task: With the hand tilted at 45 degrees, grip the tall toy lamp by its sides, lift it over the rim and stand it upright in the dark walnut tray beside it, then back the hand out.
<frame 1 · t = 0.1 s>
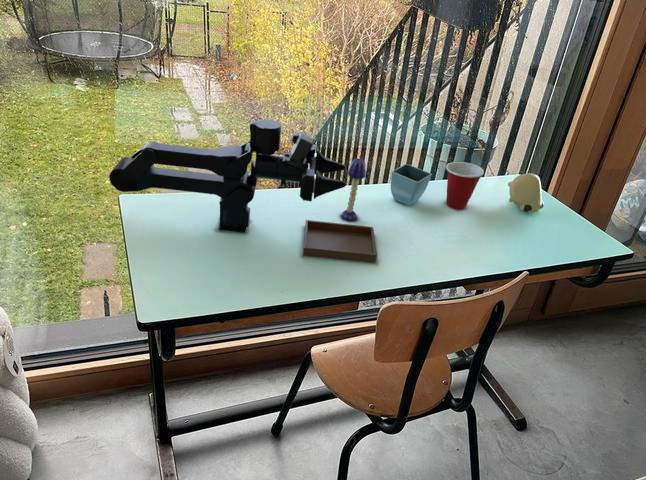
hand: (345, 175, 133), 17 cm above the table, tool horizontal, fingers open, 9 cm apart
tray: (339, 244, 139), on the table
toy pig: (521, 207, 173), on the table
plastic cup: (454, 205, 167), on the table
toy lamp: (349, 218, 151), on the table
flower pot: (405, 201, 165), on the table
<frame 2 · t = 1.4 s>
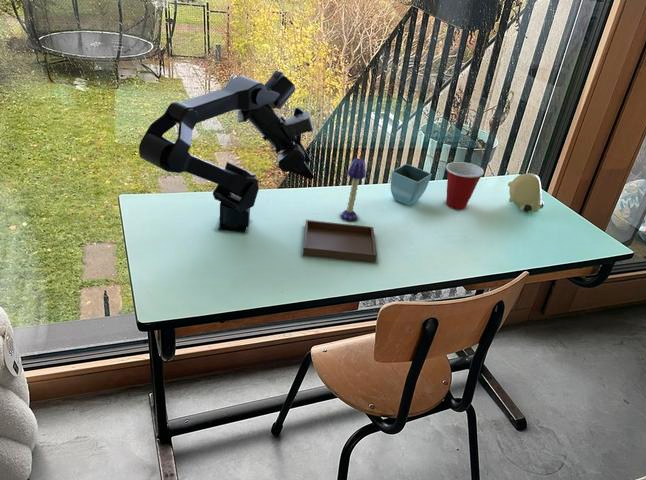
hand: (311, 169, 140), 14 cm above the table, tool tilted 45°, fingers open, 9 cm apart
nothing on the table moved.
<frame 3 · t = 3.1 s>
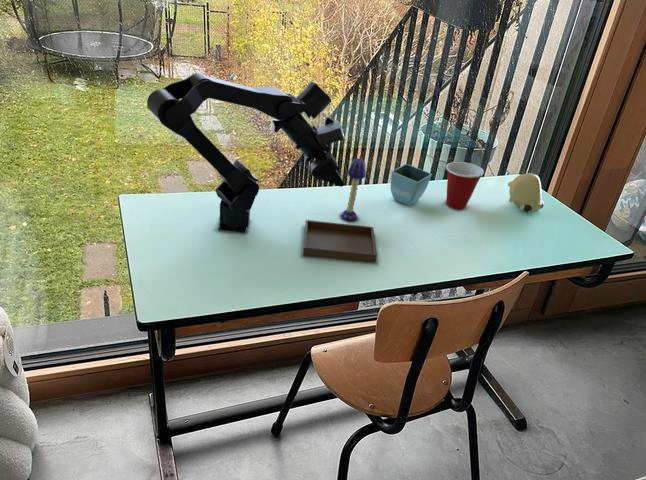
hand: (340, 177, 144), 12 cm above the table, tool tilted 45°, fingers open, 9 cm apart
nothing on the table moved.
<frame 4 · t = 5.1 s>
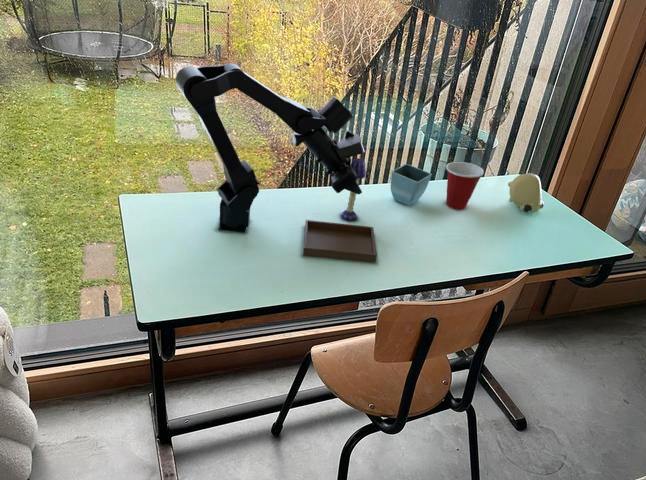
hand: (359, 189, 146), 9 cm above the table, tool tilted 45°, fingers closed on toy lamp, 4 cm apart
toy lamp: (349, 218, 151), on the table, touching gripper
everything else where it was.
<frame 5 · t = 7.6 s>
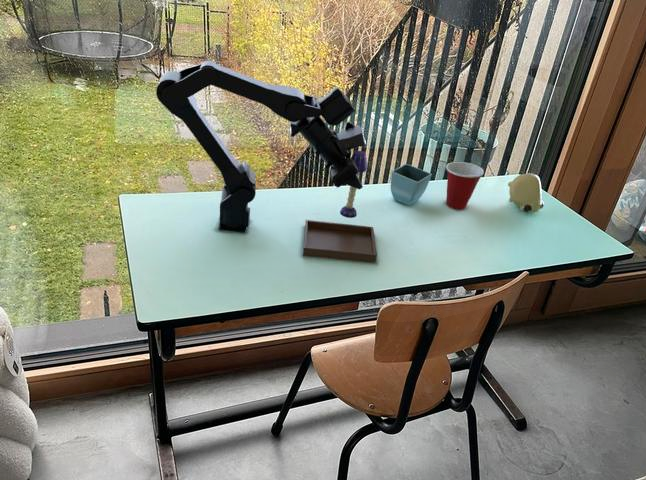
hand: (359, 184, 138), 13 cm above the table, tool tilted 45°, fingers closed on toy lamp, 4 cm apart
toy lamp: (348, 215, 143), point 4 cm above the table, touching gripper
everything else where it was.
when the fingers open (9 cm above the table, at t = 10.3 s): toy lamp stays where it is, resting on tray.
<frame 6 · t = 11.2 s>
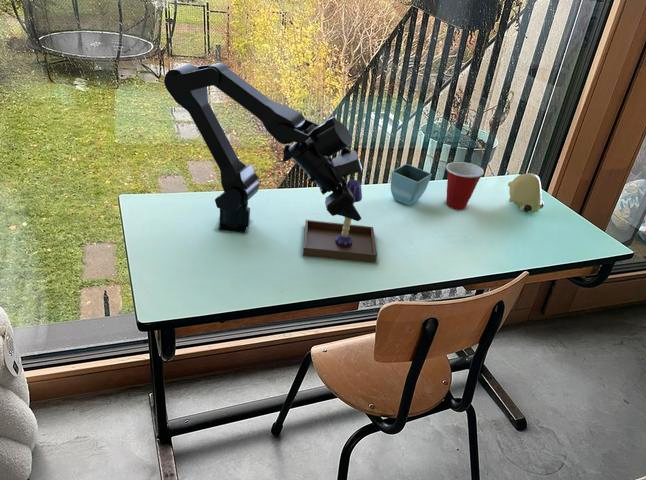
hand: (356, 210, 134), 10 cm above the table, tool tilted 45°, fingers open, 9 cm apart
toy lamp: (344, 244, 139), resting on tray
everything else where it was.
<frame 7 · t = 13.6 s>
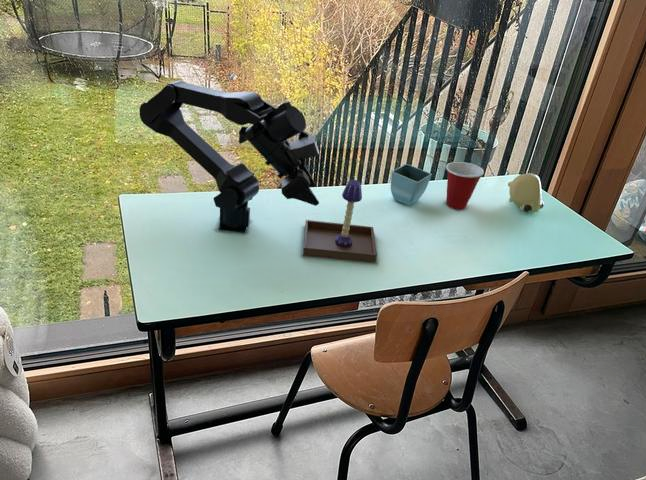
hand: (315, 194, 134), 12 cm above the table, tool tilted 45°, fingers open, 9 cm apart
nothing on the table moved.
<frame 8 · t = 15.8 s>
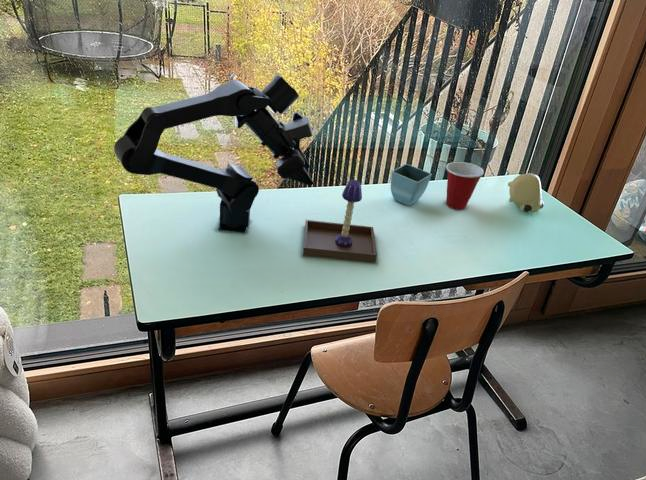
hand: (310, 175, 137), 14 cm above the table, tool tilted 45°, fingers open, 9 cm apart
nothing on the table moved.
at the end: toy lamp inside the target area in the tray (1.2 cm from its centre), point 0.3 cm above the tray's base; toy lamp tilted 0°; the gripper is holding nothing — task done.
